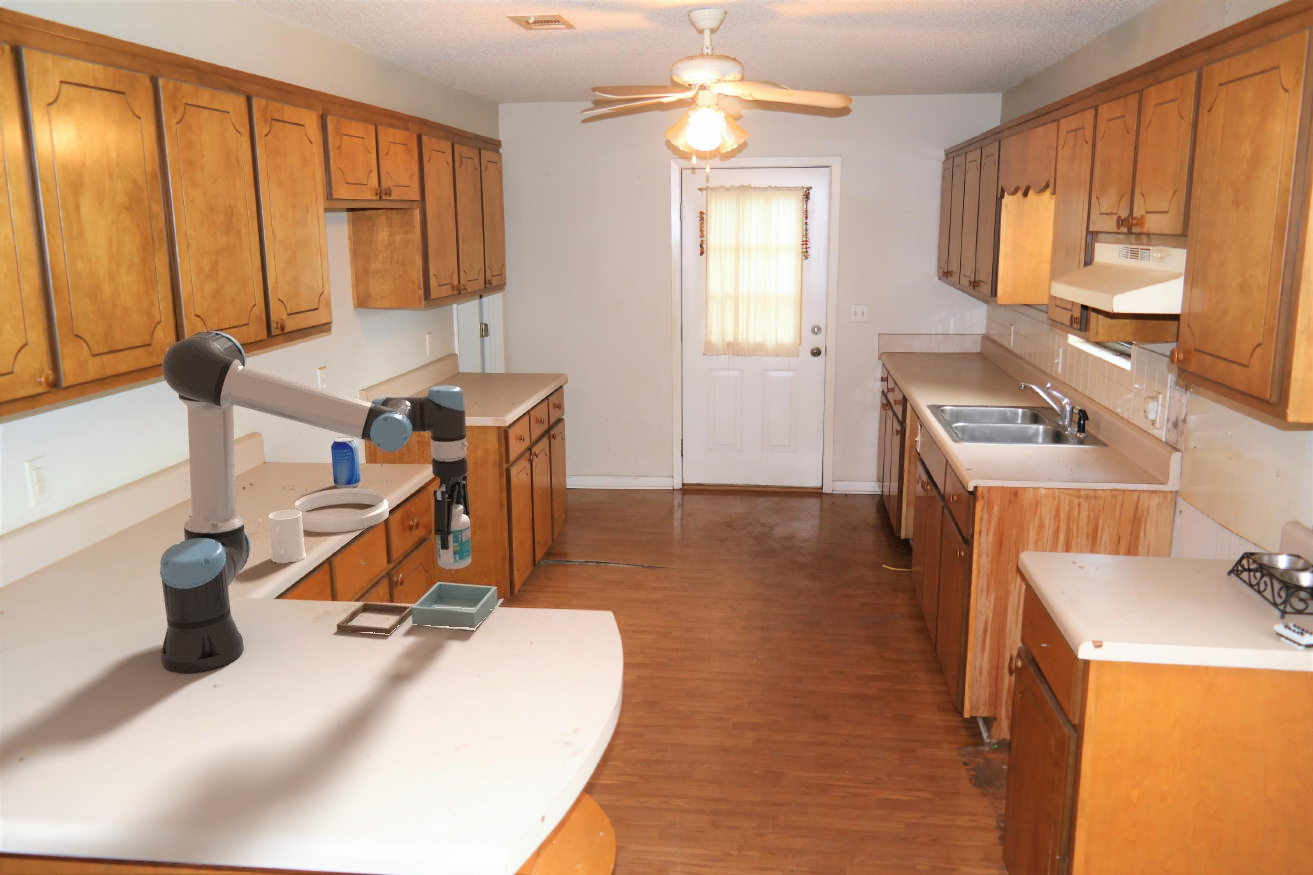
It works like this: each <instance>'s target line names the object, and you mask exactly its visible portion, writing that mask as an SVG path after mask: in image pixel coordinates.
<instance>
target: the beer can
mask: <svg viewBox="0 0 1313 875" xmlns="http://www.w3.org/2000/svg"><path fill="white" fill-rule="evenodd" d="M330 449H331V450H330V452H331V464H332V476H333V477H332V478H333V484H334V485H335V487H336V489H342V488H357V487H358V486H359V484H360V483H361V470H360V469H361V468H360V456H359V455H360V454H359V444H358V442H357V441H356V437H352V436H339V437H335V438H334V439H333V442H332V443H331V445H330Z"/></svg>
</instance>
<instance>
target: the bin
mask: <svg viewBox="0 0 1313 875" xmlns="http://www.w3.org/2000/svg"><path fill="white" fill-rule="evenodd" d="M411 606H412V607H411V609H412V614H411V625H412V624H417V625H431V626H449V627H469V628H475V627H476V626H477V625H478V624H479V623H480V622H481V621H482V620H483V619H484V618H485V617H486V618H488V616H489V615H490V614H491V613H492V611H493V610H494V609H495V608H496V606H498V587H497V586H491V585H490V586H489V585H478V584H466V583H454V582H453V583H452V582H443V581H442V582H441V581H437V582H436V583H435V584H434V585H433V586H432V587H431V588H430V589H429V590H427V592H426V593H425V594H424V595H423V596H421V597H420V599H418V601H416V602H415V603H414V604H413V605H411ZM435 607H461V608H435ZM462 608H475V609H462ZM490 609H493V610H490Z"/></svg>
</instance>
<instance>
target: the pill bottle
mask: <svg viewBox="0 0 1313 875" xmlns="http://www.w3.org/2000/svg"><path fill="white" fill-rule="evenodd" d="M468 517H469V516H466V515H464V514H463V506H462V505H459V504H454V505H453V511H452V521H451V531H450V534H452V538H453V558H454V562H453V563H444V562H441V558H440V539H439V535H435V538H436V557H437V559H436V560H437V564H438V566H439V567H440V568H443V569H446V570H458V569H463V568H465V567H467V566H469V565H470V564H471V562H472V544H471V543H472V542H471V540H472V539H471V538H472V537H471V519H470V520H469V518H468Z"/></svg>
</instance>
